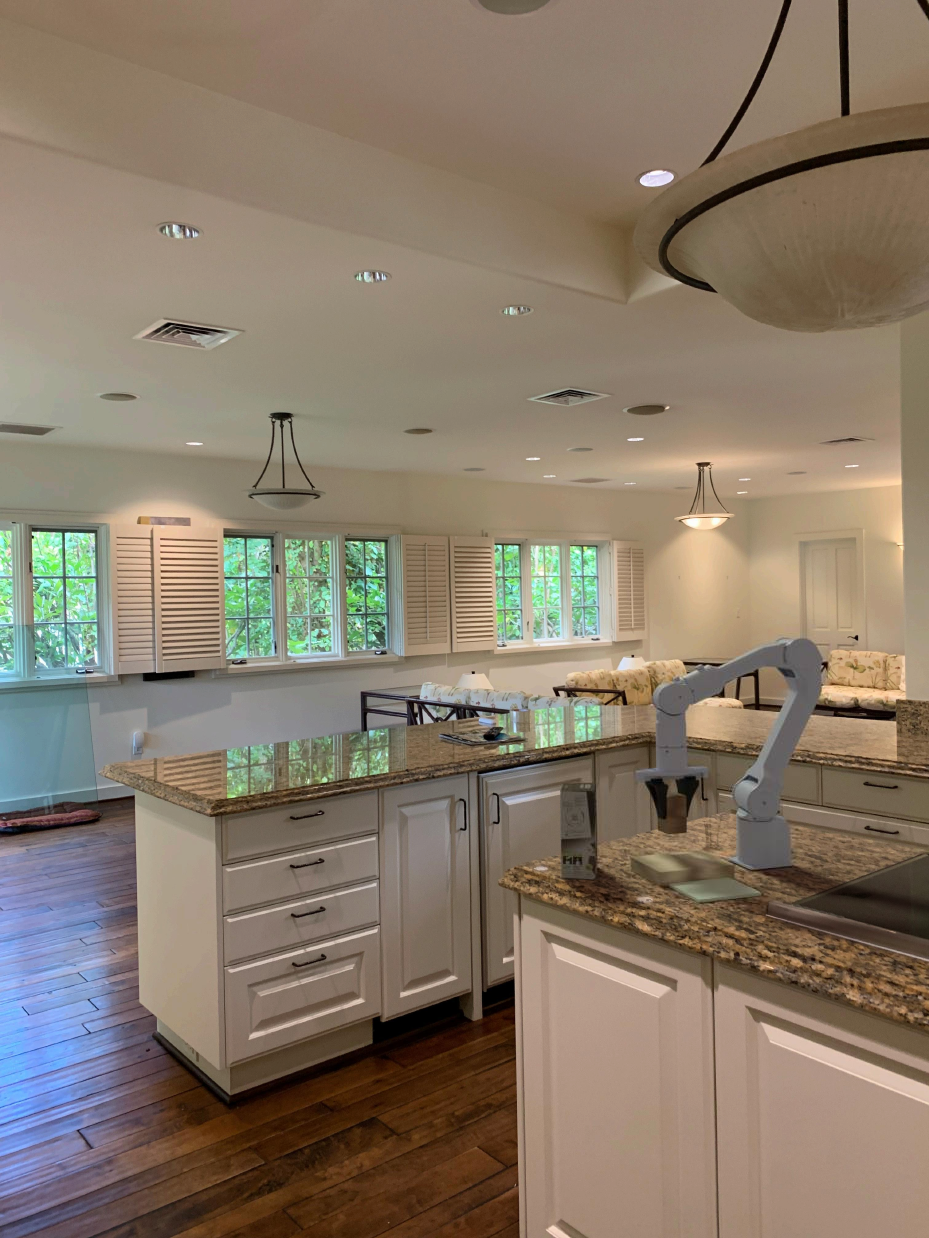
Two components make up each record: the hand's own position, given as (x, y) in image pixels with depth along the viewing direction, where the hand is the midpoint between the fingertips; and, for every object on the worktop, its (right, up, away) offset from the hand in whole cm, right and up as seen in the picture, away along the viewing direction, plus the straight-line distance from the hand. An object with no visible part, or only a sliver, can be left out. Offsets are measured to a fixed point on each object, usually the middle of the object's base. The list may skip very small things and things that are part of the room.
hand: (672, 817), depth 168 cm
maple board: (0, -9, -6) cm, 11 cm away
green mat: (+3, -9, -16) cm, 19 cm away
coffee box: (-18, -10, -4) cm, 21 cm away
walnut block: (0, -3, 0) cm, 3 cm away
